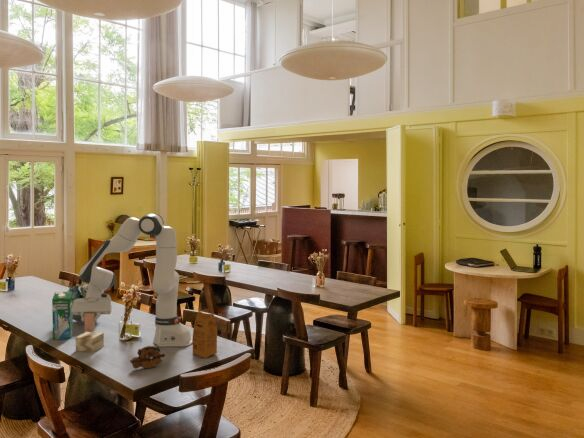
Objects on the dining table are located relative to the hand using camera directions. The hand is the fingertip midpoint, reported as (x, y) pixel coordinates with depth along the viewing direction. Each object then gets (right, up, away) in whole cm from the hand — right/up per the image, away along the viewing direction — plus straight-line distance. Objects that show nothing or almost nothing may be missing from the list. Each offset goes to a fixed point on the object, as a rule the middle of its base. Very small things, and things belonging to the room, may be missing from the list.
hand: (89, 320), depth 263 cm
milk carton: (-23, -13, +20) cm, 33 cm away
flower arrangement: (-23, -11, +49) cm, 55 cm away
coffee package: (+61, -16, -5) cm, 64 cm away
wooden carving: (+38, -17, -25) cm, 49 cm away
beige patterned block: (0, -15, +2) cm, 15 cm away
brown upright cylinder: (0, -5, +1) cm, 5 cm away
